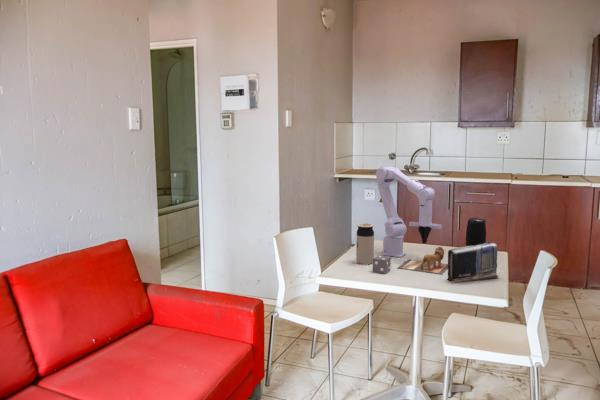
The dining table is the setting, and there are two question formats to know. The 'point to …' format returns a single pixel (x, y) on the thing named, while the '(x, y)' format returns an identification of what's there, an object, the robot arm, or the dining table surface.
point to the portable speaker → (475, 232)
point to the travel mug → (365, 243)
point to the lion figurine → (433, 258)
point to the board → (416, 265)
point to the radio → (472, 262)
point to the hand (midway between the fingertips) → (424, 242)
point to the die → (381, 264)
